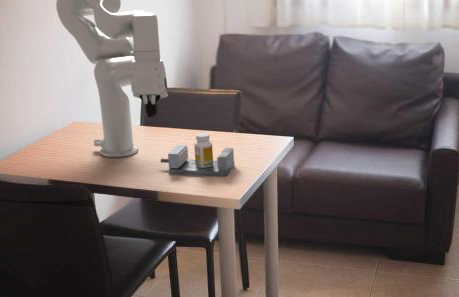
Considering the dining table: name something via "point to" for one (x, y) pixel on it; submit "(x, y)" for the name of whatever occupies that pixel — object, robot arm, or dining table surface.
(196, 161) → the supplement bottle
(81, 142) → the dining table surface
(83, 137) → the dining table surface
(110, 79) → the robot arm
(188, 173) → the vise bed
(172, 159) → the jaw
